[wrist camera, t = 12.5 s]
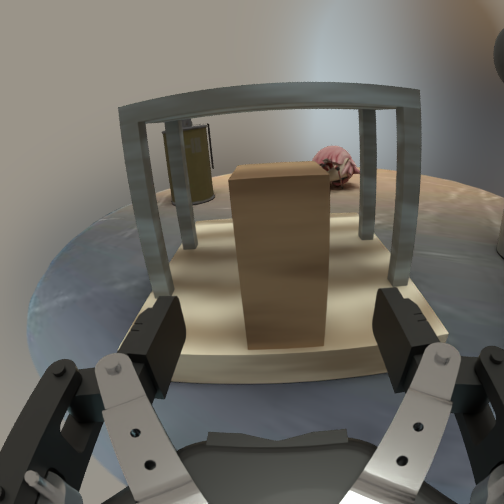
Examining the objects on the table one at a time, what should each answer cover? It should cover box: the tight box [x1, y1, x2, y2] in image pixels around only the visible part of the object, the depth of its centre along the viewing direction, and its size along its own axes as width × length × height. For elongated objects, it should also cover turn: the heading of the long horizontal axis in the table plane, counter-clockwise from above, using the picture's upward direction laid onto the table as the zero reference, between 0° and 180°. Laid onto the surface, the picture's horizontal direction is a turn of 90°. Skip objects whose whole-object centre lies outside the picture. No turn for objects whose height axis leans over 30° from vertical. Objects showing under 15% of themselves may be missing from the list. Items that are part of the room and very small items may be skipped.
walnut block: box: [228, 161, 330, 350], centre depth 19 cm, size 5×5×11 cm
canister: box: [162, 119, 215, 205], centre depth 66 cm, size 11×10×20 cm
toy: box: [312, 146, 360, 189], centre depth 68 cm, size 12×11×15 cm
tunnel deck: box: [118, 82, 449, 384], centre depth 28 cm, size 28×24×20 cm
